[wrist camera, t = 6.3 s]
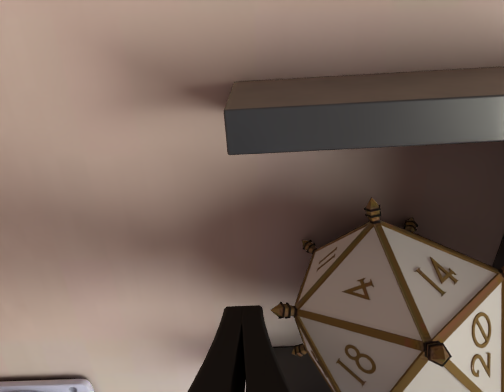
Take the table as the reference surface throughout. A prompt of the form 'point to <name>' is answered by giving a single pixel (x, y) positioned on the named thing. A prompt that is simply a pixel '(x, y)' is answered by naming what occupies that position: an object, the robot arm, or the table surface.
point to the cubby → (362, 130)
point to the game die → (399, 313)
